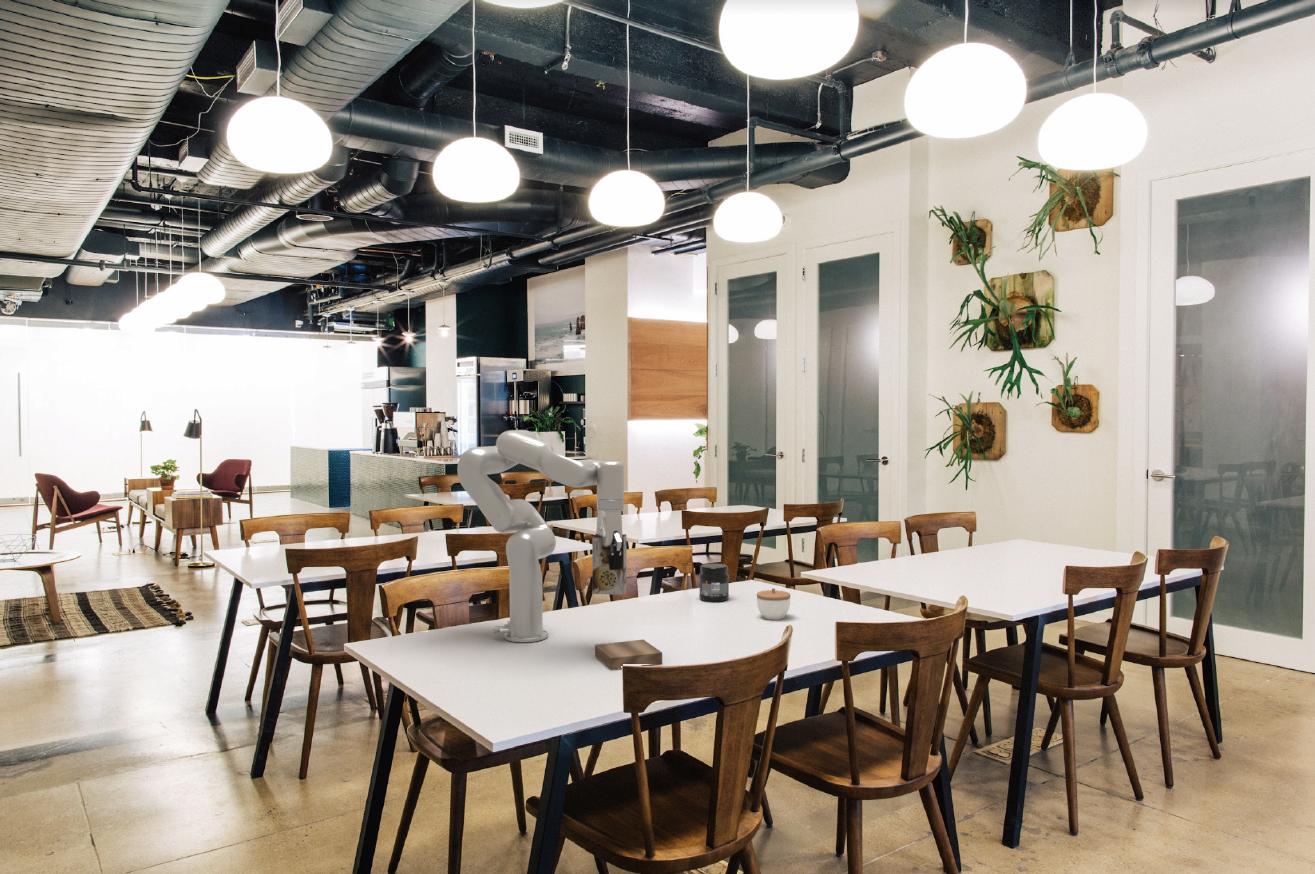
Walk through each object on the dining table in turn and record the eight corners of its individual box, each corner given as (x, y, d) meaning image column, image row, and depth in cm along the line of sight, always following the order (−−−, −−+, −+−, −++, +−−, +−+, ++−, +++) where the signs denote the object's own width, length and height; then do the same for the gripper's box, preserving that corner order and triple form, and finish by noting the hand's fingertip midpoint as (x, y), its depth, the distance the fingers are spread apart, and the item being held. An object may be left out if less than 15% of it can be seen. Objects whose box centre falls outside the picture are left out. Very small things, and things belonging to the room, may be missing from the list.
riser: (611, 669, 215) (611, 658, 215) (595, 655, 228) (594, 644, 228) (662, 663, 220) (662, 652, 220) (643, 650, 233) (643, 639, 233)
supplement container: (714, 595, 305) (714, 562, 305) (735, 599, 297) (735, 565, 297) (693, 599, 299) (692, 565, 298) (713, 604, 290) (713, 569, 290)
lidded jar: (792, 621, 265) (792, 591, 265) (758, 621, 265) (758, 592, 265) (788, 613, 276) (787, 585, 275) (755, 613, 276) (755, 585, 276)
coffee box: (626, 590, 239) (627, 534, 239) (623, 595, 233) (624, 537, 232) (595, 589, 240) (595, 533, 240) (591, 594, 234) (592, 536, 233)
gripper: (588, 502, 243) (588, 562, 243) (607, 508, 226) (606, 573, 227) (613, 501, 245) (612, 560, 246) (633, 508, 229) (632, 571, 230)
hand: (609, 566), depth 236 cm, fingers closed on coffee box, 8 cm apart
